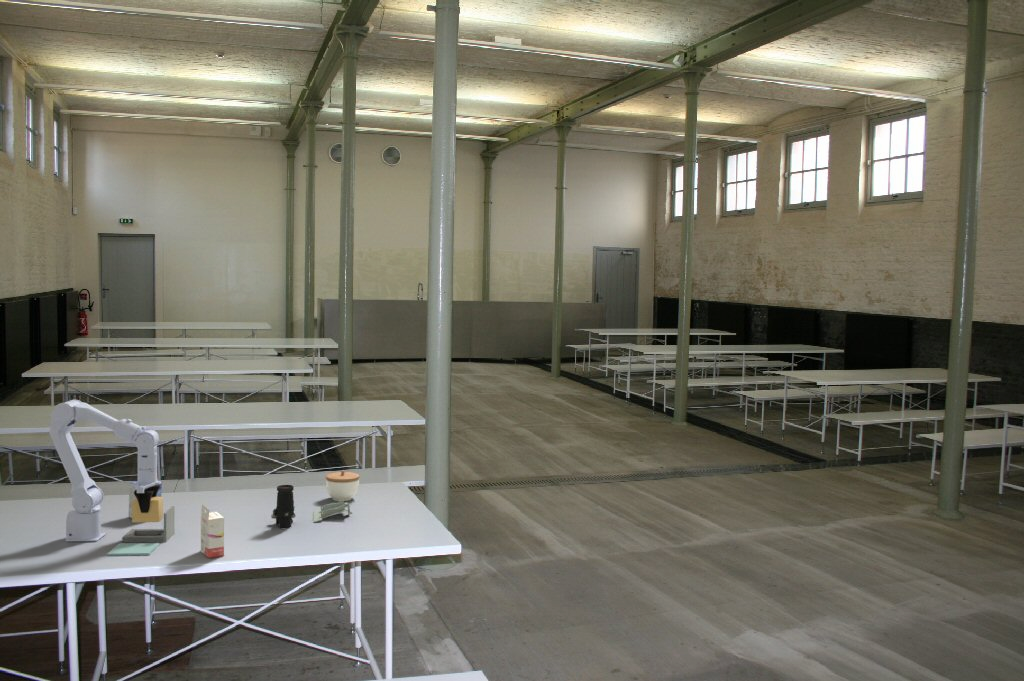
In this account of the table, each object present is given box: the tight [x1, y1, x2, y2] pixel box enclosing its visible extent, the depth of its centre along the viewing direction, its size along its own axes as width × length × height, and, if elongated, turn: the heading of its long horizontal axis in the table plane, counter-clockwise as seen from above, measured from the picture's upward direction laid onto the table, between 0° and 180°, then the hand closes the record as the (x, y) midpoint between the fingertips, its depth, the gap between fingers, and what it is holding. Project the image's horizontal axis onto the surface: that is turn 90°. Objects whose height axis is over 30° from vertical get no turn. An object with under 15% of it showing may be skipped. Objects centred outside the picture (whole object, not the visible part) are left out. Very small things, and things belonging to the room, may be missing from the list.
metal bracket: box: [312, 500, 353, 524], centre depth 301 cm, size 14×6×15 cm
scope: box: [270, 484, 296, 529], centre depth 287 cm, size 8×14×10 cm
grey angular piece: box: [121, 505, 175, 543], centre depth 270 cm, size 13×9×9 cm
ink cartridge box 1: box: [128, 480, 163, 519], centre depth 293 cm, size 10×6×14 cm, turn 71°
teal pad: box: [107, 542, 161, 557], centre depth 258 cm, size 12×10×1 cm
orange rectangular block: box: [131, 496, 164, 523], centre depth 270 cm, size 8×4×7 cm, turn 96°
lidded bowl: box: [325, 469, 360, 502], centre depth 325 cm, size 13×13×11 cm
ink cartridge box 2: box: [200, 503, 225, 559], centre depth 256 cm, size 9×5×15 cm, turn 35°
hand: (147, 510), depth 270 cm, fingers closed on orange rectangular block, 4 cm apart
